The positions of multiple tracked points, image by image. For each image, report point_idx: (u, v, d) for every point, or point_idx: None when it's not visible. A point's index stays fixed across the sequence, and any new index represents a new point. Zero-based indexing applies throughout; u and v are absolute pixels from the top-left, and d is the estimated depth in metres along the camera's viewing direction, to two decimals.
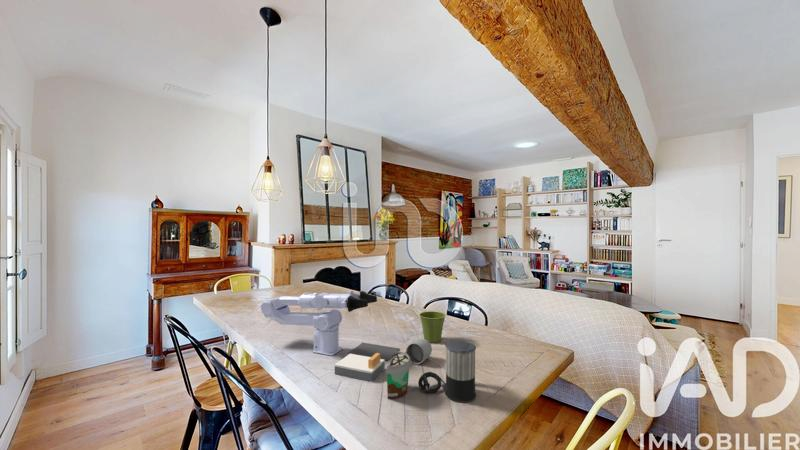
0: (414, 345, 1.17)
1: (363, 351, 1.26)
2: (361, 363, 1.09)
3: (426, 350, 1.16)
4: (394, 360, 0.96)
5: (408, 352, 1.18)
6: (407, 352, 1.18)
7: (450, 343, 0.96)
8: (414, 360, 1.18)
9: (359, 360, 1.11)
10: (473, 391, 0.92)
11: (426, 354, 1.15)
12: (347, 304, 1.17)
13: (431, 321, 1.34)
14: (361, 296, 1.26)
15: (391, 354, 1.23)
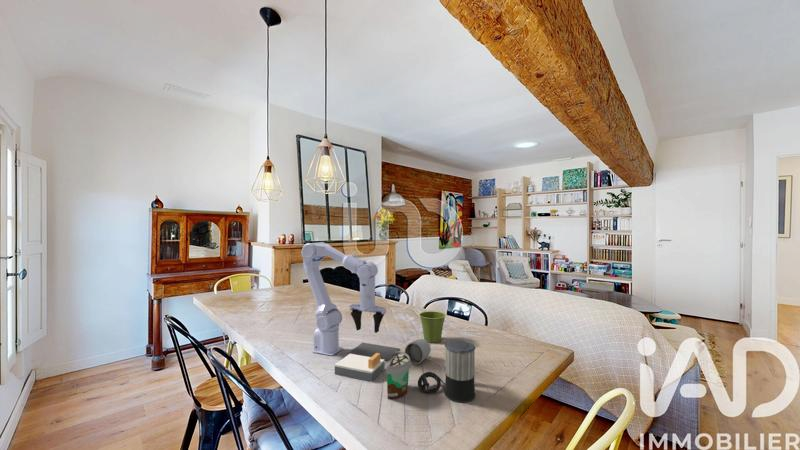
0: (413, 345, 1.17)
1: (363, 351, 1.26)
2: (361, 363, 1.09)
3: (425, 350, 1.16)
4: (394, 360, 0.96)
5: (407, 352, 1.19)
6: (406, 352, 1.18)
7: (450, 343, 0.96)
8: (413, 360, 1.18)
9: (359, 360, 1.11)
10: (472, 391, 0.92)
11: (425, 354, 1.15)
12: None
13: (431, 321, 1.34)
14: None
15: (391, 354, 1.23)
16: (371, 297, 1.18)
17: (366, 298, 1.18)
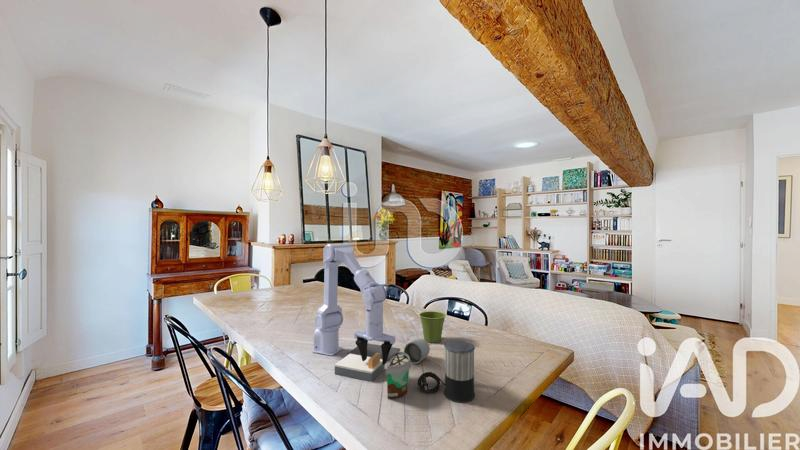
0: (412, 345, 1.17)
1: None
2: (361, 363, 1.09)
3: (424, 350, 1.16)
4: (394, 360, 0.96)
5: (406, 351, 1.19)
6: (405, 352, 1.18)
7: (449, 343, 0.96)
8: (412, 360, 1.18)
9: (359, 360, 1.11)
10: (472, 391, 0.92)
11: (424, 354, 1.15)
12: None
13: (431, 321, 1.34)
14: None
15: (391, 354, 1.23)
16: (379, 325, 1.05)
17: (373, 326, 1.05)
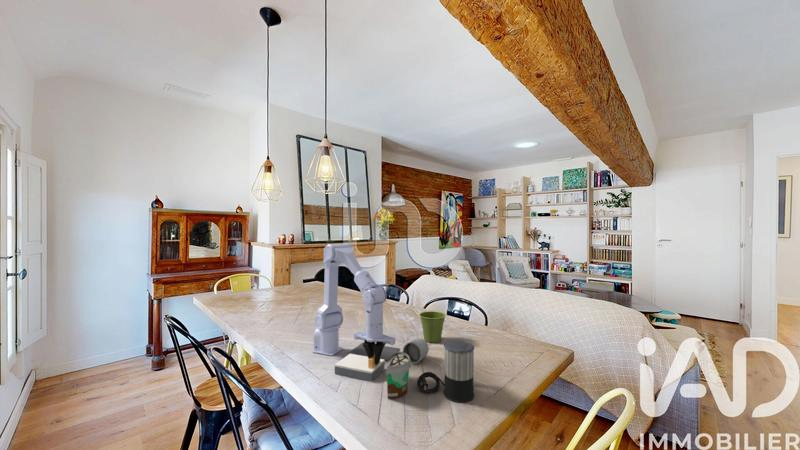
0: (411, 344, 1.18)
1: (363, 351, 1.26)
2: (361, 363, 1.09)
3: (423, 349, 1.16)
4: (394, 360, 0.96)
5: (405, 351, 1.19)
6: (404, 351, 1.18)
7: (449, 343, 0.96)
8: (411, 359, 1.18)
9: (359, 360, 1.11)
10: (471, 391, 0.92)
11: (423, 353, 1.16)
12: None
13: (431, 321, 1.34)
14: None
15: (391, 354, 1.23)
16: (378, 326, 1.05)
17: (373, 327, 1.05)
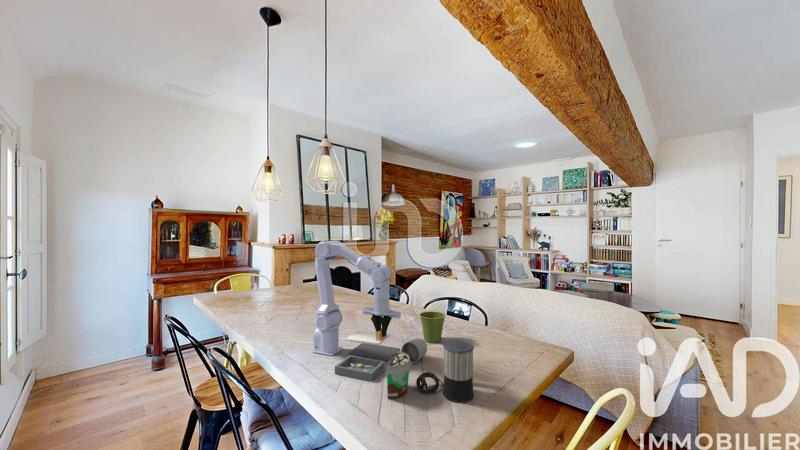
0: (409, 344, 1.18)
1: (363, 351, 1.26)
2: (369, 337, 1.18)
3: (421, 349, 1.16)
4: (394, 360, 0.96)
5: (404, 351, 1.19)
6: (402, 351, 1.19)
7: (448, 343, 0.96)
8: None
9: (367, 335, 1.20)
10: (471, 391, 0.92)
11: (421, 353, 1.16)
12: None
13: (431, 321, 1.34)
14: None
15: (391, 354, 1.23)
16: (385, 301, 1.14)
17: (380, 302, 1.14)
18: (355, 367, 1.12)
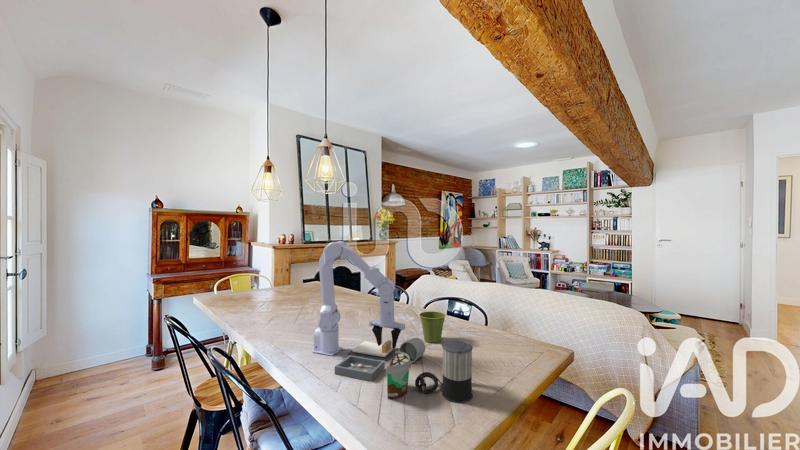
0: (407, 344, 1.18)
1: None
2: (375, 349, 1.25)
3: (419, 349, 1.17)
4: (394, 360, 0.96)
5: (402, 350, 1.20)
6: (400, 351, 1.19)
7: (447, 343, 0.96)
8: None
9: (373, 346, 1.27)
10: (470, 391, 0.92)
11: (419, 353, 1.16)
12: None
13: (431, 321, 1.34)
14: None
15: (391, 354, 1.23)
16: (391, 314, 1.22)
17: (386, 315, 1.22)
18: (355, 367, 1.12)
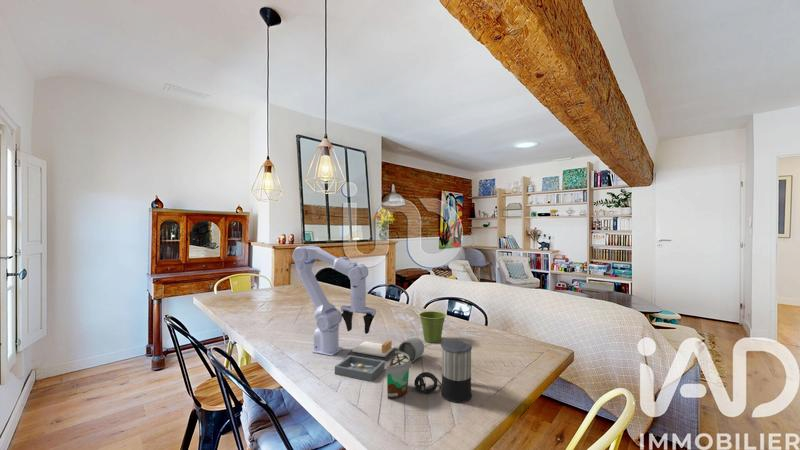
0: (406, 344, 1.19)
1: None
2: (375, 349, 1.25)
3: (418, 349, 1.17)
4: (394, 360, 0.96)
5: (401, 350, 1.20)
6: (399, 350, 1.19)
7: (447, 343, 0.96)
8: None
9: (373, 346, 1.27)
10: (469, 391, 0.92)
11: (418, 352, 1.16)
12: None
13: (431, 321, 1.34)
14: None
15: (391, 354, 1.23)
16: (361, 299, 1.20)
17: (356, 299, 1.20)
18: (355, 367, 1.12)
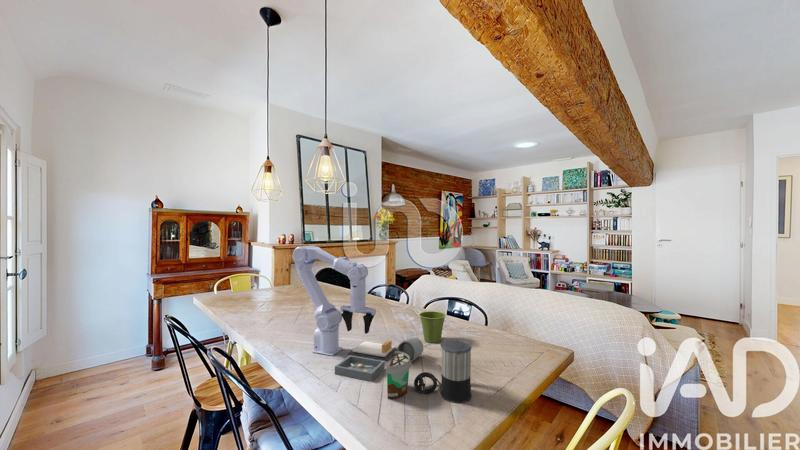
0: (405, 343, 1.19)
1: None
2: (375, 349, 1.25)
3: (417, 348, 1.17)
4: (394, 360, 0.96)
5: (400, 350, 1.20)
6: (399, 350, 1.19)
7: (446, 344, 0.96)
8: None
9: (373, 346, 1.27)
10: (468, 391, 0.92)
11: (417, 352, 1.17)
12: None
13: (431, 321, 1.34)
14: None
15: (391, 354, 1.23)
16: (361, 298, 1.20)
17: (356, 299, 1.20)
18: (355, 367, 1.12)
